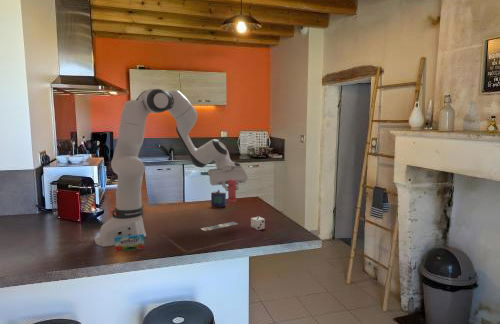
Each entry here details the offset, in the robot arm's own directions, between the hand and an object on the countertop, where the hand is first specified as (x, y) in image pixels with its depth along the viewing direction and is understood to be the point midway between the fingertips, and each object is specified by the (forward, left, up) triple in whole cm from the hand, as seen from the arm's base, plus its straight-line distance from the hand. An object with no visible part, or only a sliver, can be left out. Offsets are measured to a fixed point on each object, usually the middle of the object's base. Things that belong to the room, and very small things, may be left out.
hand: (232, 189), depth 180 cm
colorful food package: (-53, -2, -19) cm, 57 cm away
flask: (+14, +38, -19) cm, 44 cm away
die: (+9, -10, -19) cm, 23 cm away
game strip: (-7, +1, -19) cm, 20 cm away
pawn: (0, +1, -6) cm, 6 cm away
